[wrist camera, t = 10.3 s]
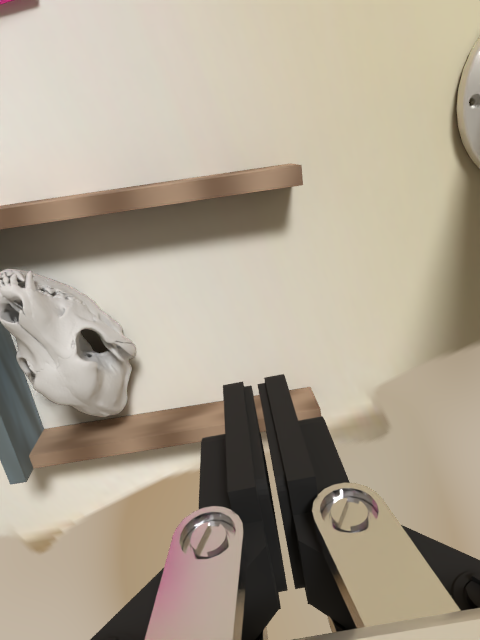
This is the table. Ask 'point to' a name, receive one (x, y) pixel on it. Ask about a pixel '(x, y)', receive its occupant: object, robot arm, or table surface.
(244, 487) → the robot arm
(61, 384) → the skull
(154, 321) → the table surface
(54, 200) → the bay
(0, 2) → the bracket
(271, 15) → the table surface
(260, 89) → the table surface
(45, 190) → the table surface
